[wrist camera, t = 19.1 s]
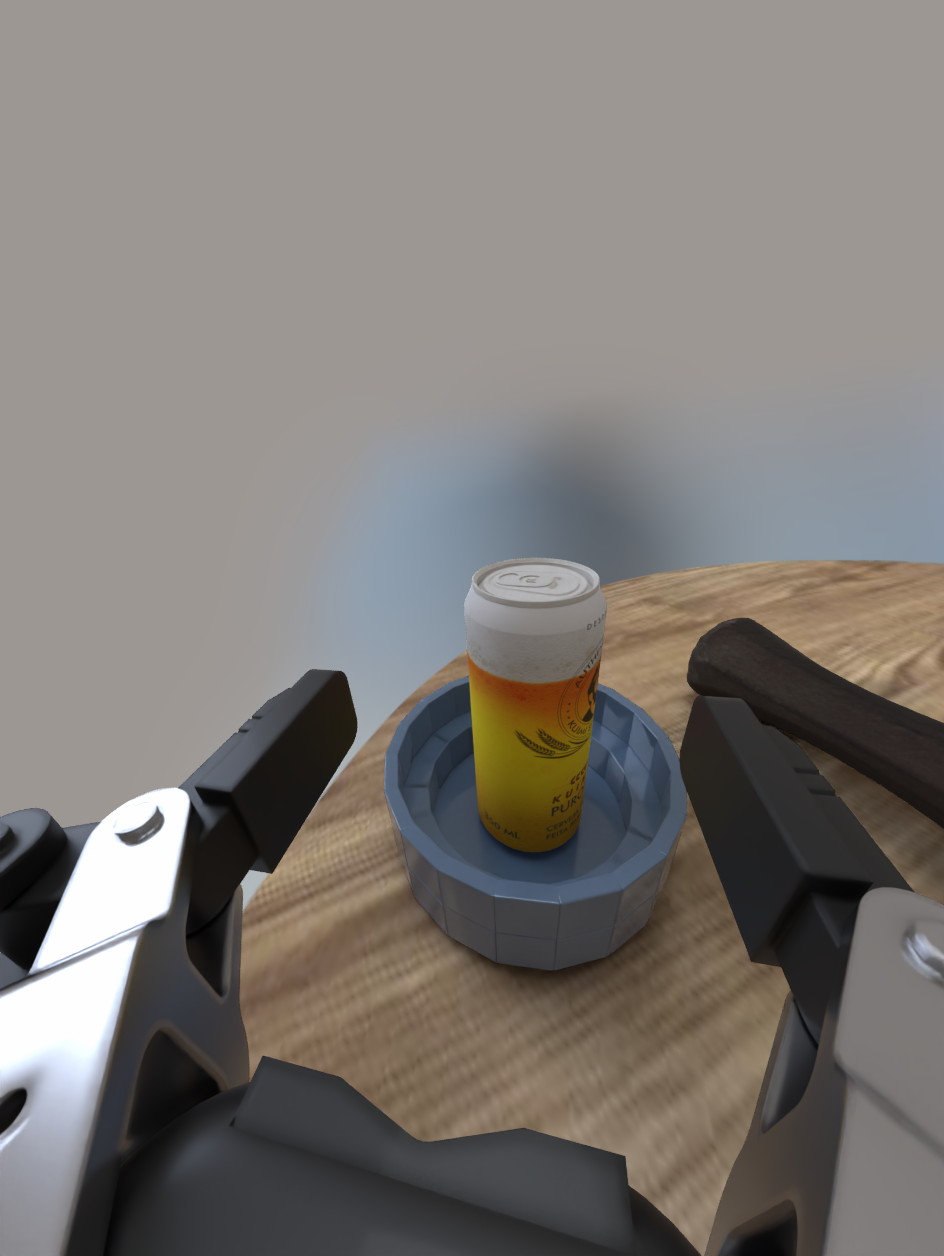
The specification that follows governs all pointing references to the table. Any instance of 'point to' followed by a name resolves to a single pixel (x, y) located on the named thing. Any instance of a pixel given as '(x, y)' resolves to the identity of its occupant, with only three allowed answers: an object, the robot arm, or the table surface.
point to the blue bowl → (536, 881)
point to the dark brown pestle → (824, 710)
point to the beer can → (533, 695)
